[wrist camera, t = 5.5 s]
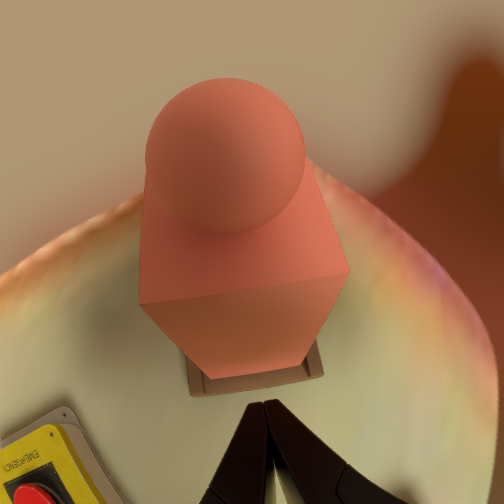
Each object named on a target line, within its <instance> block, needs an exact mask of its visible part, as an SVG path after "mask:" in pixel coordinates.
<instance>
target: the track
mask: <svg viewBox="0 0 504 504" xmlns="http://www.w3.org/2000/svg"><path fill="white" fill-rule="evenodd" d="M186 361H187V371H188V381H189V389H190V396H192V397H201V396H211V395H219V394H227V393H235V392H242V391H249V390H256V389H262V388H268V387H274V386H279V385H285V384H290V383H295V382H300V381H305V380H310V379H314V378H319V377H322V376H323V375H324V371H323V367H322V362H321V358H320V354H319V349H318V345H317V341H316V338H315V340H314V342H313V344H312V345H311V347H310V349H309V351H308V353H307V354H306V356H305V358H304V360H303V361H302V363H301V365H299V366H294V367H288V368H283V369H277V370H272V371H266V372H260V373H254V374H247V375H240V376H233V377H226V378H218V379H210V378H209V377H208V376H207V375H206V374H205V373H204V372H203V371H202V370H201V369H200V368H199V367H198V366H197V365H196V364H195V363H194V362H193V361H192V360H191V359H190V358H189V357H188V356H187V355H186Z"/></svg>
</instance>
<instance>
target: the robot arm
mask: <svg viewBox="0 0 504 504" xmlns="http://www.w3.org/2000/svg"><path fill="white" fill-rule="evenodd" d="M274 465H275V468H274ZM275 470H276V473H277V476H278V479H279V481H280V484H281V487H282V490H283V493H284V495H285V498H286V501H287V503H288V504H409V503H407V502H405V501H403V500H401V499H400V498H398V497H396V496H394V495H392V494H391V493H389V492H387V491H385V490H384V489H382V488H380V487H379V486H377V485H376V484H374V483H373V482H371V481H370V480H368V479H367V478H366V477H364V476H363V475H362V474H360V473H359V472H358V471H357V470H355V469H354V468H353V467H352V466H351V465H349V464H347V462H346V461H345V460H343V459H342V458H341V457H340V456H339V455H338V454H337V453H335V452H334V451H333V450H332V449H331V448H330V447H329V446H327V445H326V444H325V443H324V442H323V441H322V440H321V439H320V438H319V437H317V436H316V435H315V434H314V433H313V432H312V431H311V430H310V429H309V428H308V427H307V426H305V425H304V424H303V423H302V422H301V421H300V420H299V419H298V418H297V417H296V416H295V415H294V414H293V413H292V412H291V411H290V410H289V409H288V408H286V407H285V406H284V405H283V404H282V403H281V402H280V401H279V400H278V399H273V400H267V401H264V403H263V402H254V403H249V404H248V405H247V407H246V409H245V412H244V414H243V416H242V418H241V420H240V422H239V425H238V427H237V429H236V431H235V433H234V435H233V437H232V439H231V442H230V444H229V446H228V448H227V450H226V452H225V454H224V456H223V458H222V460H221V462H220V464H219V466H218V468H217V470H216V472H215V474H214V476H213V478H212V480H211V482H210V484H209V488H207V490H206V492H205V494H204V496H203V498H202V499H201V501H200V503H199V504H276V483H275Z"/></svg>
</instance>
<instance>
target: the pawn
mask: <svg viewBox="0 0 504 504" xmlns="http://www.w3.org/2000/svg"><path fill="white" fill-rule="evenodd" d="M145 162H146V180H145V189H144V199H143V211H142V225H141V242H140V266H139V305H140V306H141V307H142V308H143V310H144V311H145V312H146V313H147V314H148V315H149V316H150V317H151V319H152V320H153V321H154V322H155V323H156V324H157V325H158V326H159V327H160V328H161V329H162V330H163V332H164V333H165V334H166V335H167V336H168V337H169V338H170V339H171V340H172V341H173V342H174V343H175V344H176V345H177V346H178V347H179V348H180V349H181V350H182V351H183V352H184V353H185V354H186V355H187V356H188V357H189V358H190V359H191V360H192V361H193V362H194V363H195V364H196V365H197V366H198V367H199V368H200V369H201V370H202V371H203V372H204V373H205V374H206V375H207V376H208V377H209V378H210V379H218V378H226V377H233V376H240V375H247V374H254V373H260V372H266V371H272V370H277V369H283V368H288V367H294V366H299V365H301V363H302V361H303V360H304V358H305V356H306V354H307V353H308V351H309V349H310V347H311V345H312V344H313V342H314V340H315V338H316V337H317V335H318V333H319V331H320V329H321V327H322V325H323V324H324V322H325V320H326V318H327V316H328V314H329V312H330V310H331V309H332V307H333V305H334V303H335V301H336V299H337V297H338V295H339V293H340V291H341V289H342V287H343V285H344V283H345V281H346V279H347V277H348V275H349V273H350V271H349V268H348V265H347V262H346V259H345V256H344V253H343V250H342V247H341V245H340V242H339V239H338V236H337V233H336V231H335V228H334V225H333V223H332V220H331V217H330V215H329V212H328V209H327V207H326V204H325V202H324V199H323V197H322V194H321V191H320V189H319V186H318V184H317V181H316V179H315V177H314V174H313V172H312V169H311V167H310V165H309V162H308V160H307V157H306V153H305V145H304V138H303V135H302V132H301V129H300V126H299V123H298V122H297V120H296V118H295V116H294V114H293V113H292V111H291V110H290V109H289V108H288V106H287V105H286V104H285V103H284V102H283V101H282V100H281V99H280V98H279V97H278V96H276V95H275V94H274V93H273V92H271V91H269V90H267V89H266V88H264V87H262V86H260V85H258V84H255V83H252V82H249V81H246V80H241V79H233V78H221V79H212V80H208V81H204V82H200V83H198V84H195V85H193V86H190V87H189V88H187V89H185V90H183V91H182V92H180V93H179V94H177V95H176V96H175V97H174V98H172V99H171V100H170V101H169V102H168V103H167V104H166V106H165V107H164V108H163V109H162V110H161V112H160V113H159V115H158V116H157V118H156V119H155V121H154V123H153V126H152V128H151V130H150V133H149V137H148V140H147V145H146V156H145Z"/></svg>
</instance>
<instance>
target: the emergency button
mask: <svg viewBox="0 0 504 504" xmlns="http://www.w3.org/2000/svg"><path fill="white" fill-rule="evenodd" d="M0 503H1V504H127V502H126V501H125V500H124V498H123V497H122V495H121V494H120V492H119V491H118V489H117V488H116V486H115V485H114V483H113V482H112V480H111V478H110V477H109V475H108V474H107V472H106V470H105V469H104V467H103V465H102V464H101V462H100V460H99V459H98V457H97V455H96V453H95V451H94V450H93V448H92V446H91V444H90V442H89V440H88V439H87V437H86V435H85V433H84V431H83V429H82V427H81V425H80V423H79V421H78V419H77V417H76V415H75V414H74V412H73V411H72V410H71V409H70V408H68V407H66V406H61V407H58V408H56V409H54V410H53V411H51V412H49V413H48V414H46V415H44V416H43V417H41V418H39V419H38V420H36V421H34V422H33V423H31V424H29V425H27V426H26V427H24V428H22V429H21V430H19V431H17V432H15V433H14V434H12V435H10V436H8V437H7V438H5V439H3V440H2V441H0Z"/></svg>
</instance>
